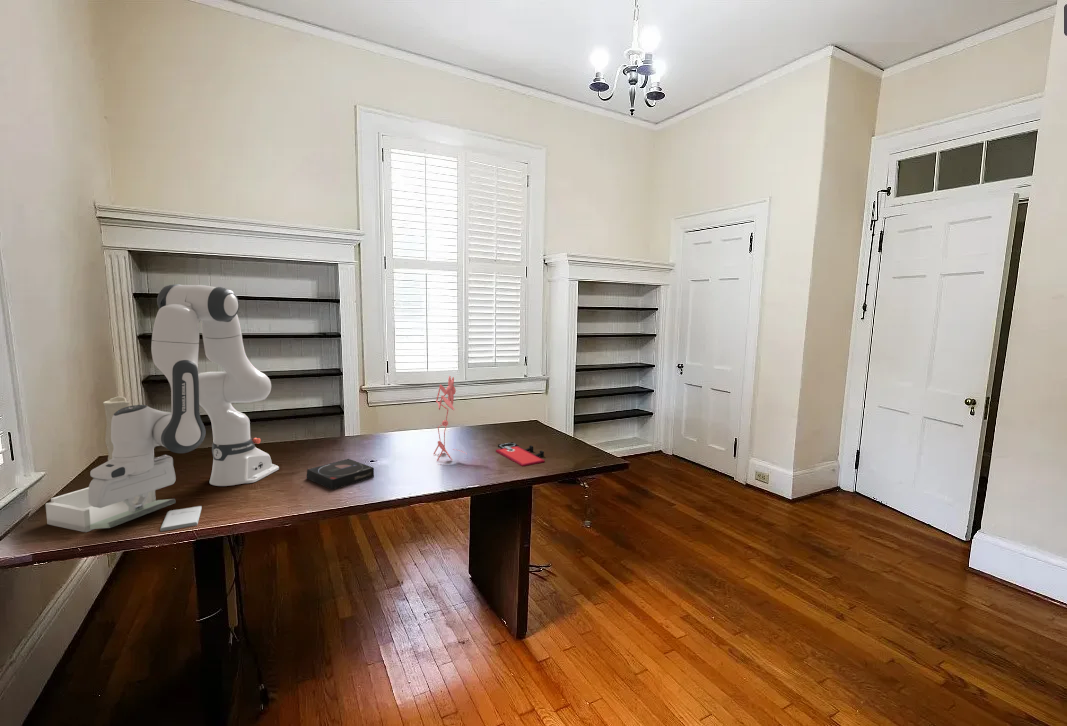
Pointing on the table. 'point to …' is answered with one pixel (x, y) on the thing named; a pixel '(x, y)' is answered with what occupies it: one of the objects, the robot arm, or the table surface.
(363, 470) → the portable cd player
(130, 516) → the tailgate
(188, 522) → the external hard drive
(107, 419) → the cream statue
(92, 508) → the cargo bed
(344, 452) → the table surface
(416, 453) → the table surface
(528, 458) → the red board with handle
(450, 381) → the figurine
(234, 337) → the robot arm
